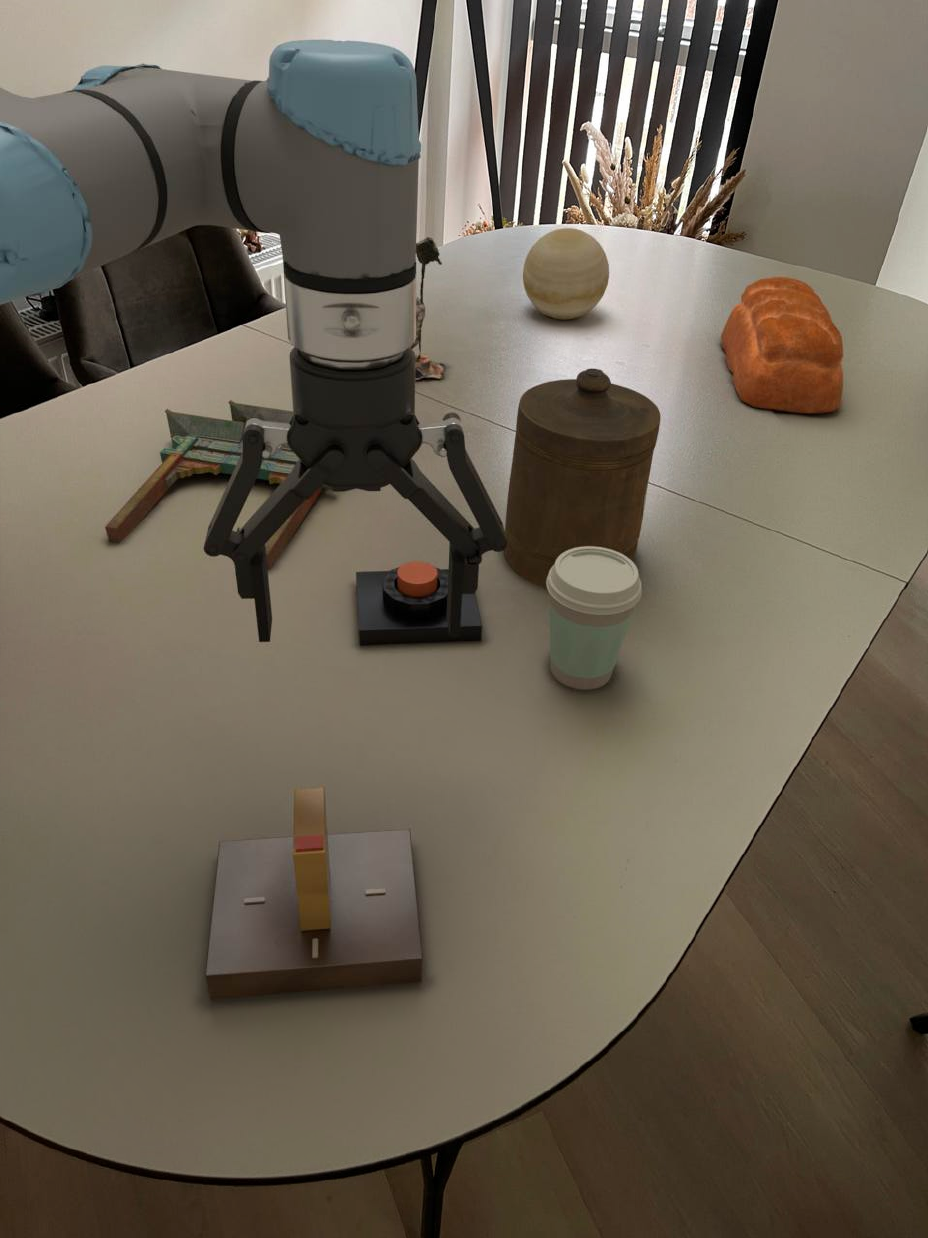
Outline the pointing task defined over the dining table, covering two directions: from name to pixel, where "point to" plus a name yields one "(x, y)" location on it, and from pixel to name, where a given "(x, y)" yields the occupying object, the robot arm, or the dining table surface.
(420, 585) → the bell button
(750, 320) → the bread
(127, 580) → the dining table surface
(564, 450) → the wooden container
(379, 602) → the button block
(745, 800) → the dining table surface
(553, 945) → the dining table surface
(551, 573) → the coffee cup
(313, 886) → the lock knob
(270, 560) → the miniature gate
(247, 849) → the plate
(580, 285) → the decorative ball
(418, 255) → the bird figurine
